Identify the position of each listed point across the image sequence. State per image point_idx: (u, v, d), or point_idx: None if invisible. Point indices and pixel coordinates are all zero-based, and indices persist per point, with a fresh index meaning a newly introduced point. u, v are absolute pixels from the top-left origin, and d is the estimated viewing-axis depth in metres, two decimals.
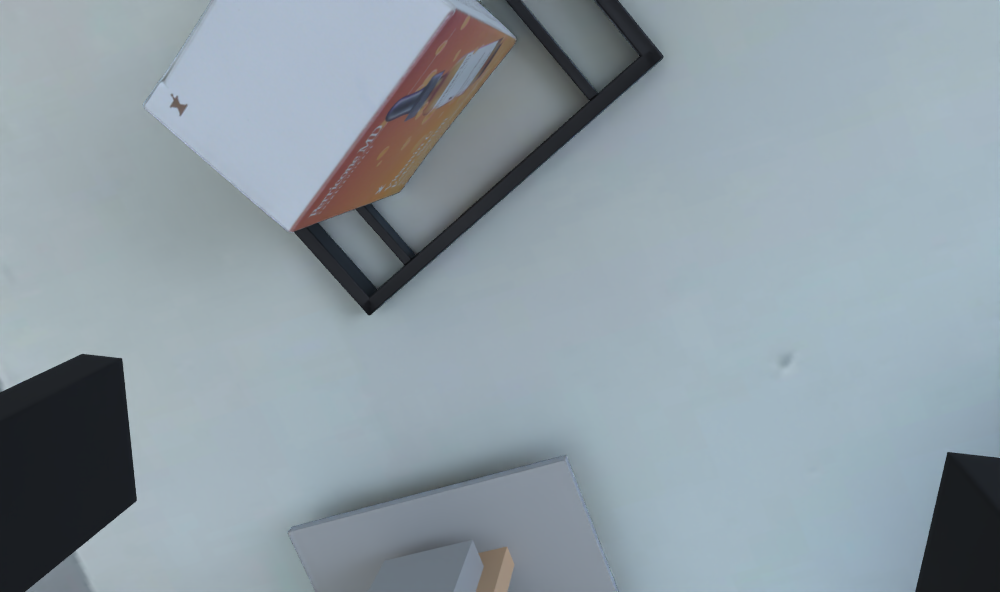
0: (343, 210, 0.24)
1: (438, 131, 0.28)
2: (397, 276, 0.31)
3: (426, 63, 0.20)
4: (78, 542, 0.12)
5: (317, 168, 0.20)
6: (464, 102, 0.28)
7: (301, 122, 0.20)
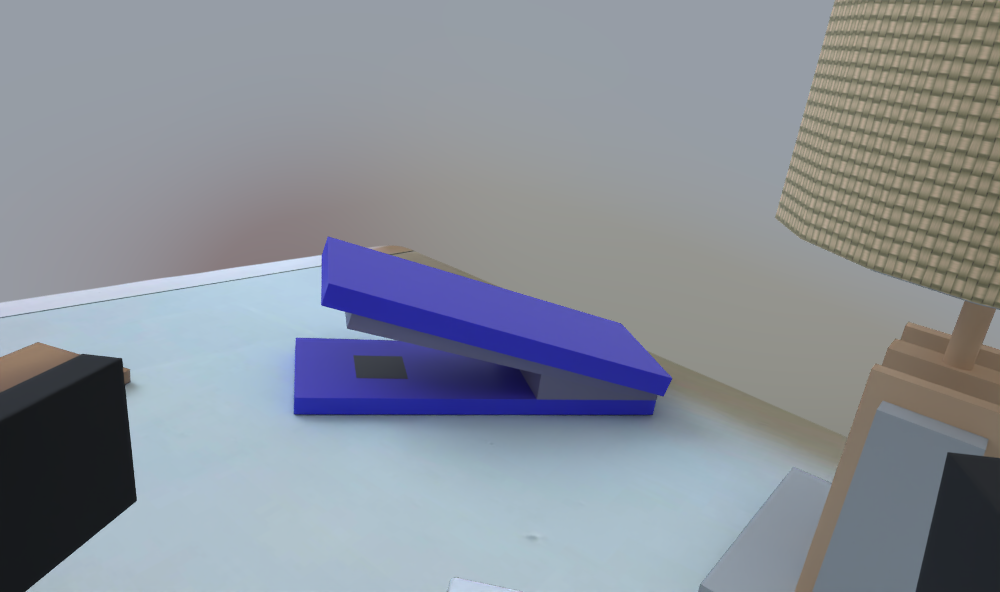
0: None
1: None
2: None
3: None
4: (78, 543, 0.12)
5: None
6: None
7: None
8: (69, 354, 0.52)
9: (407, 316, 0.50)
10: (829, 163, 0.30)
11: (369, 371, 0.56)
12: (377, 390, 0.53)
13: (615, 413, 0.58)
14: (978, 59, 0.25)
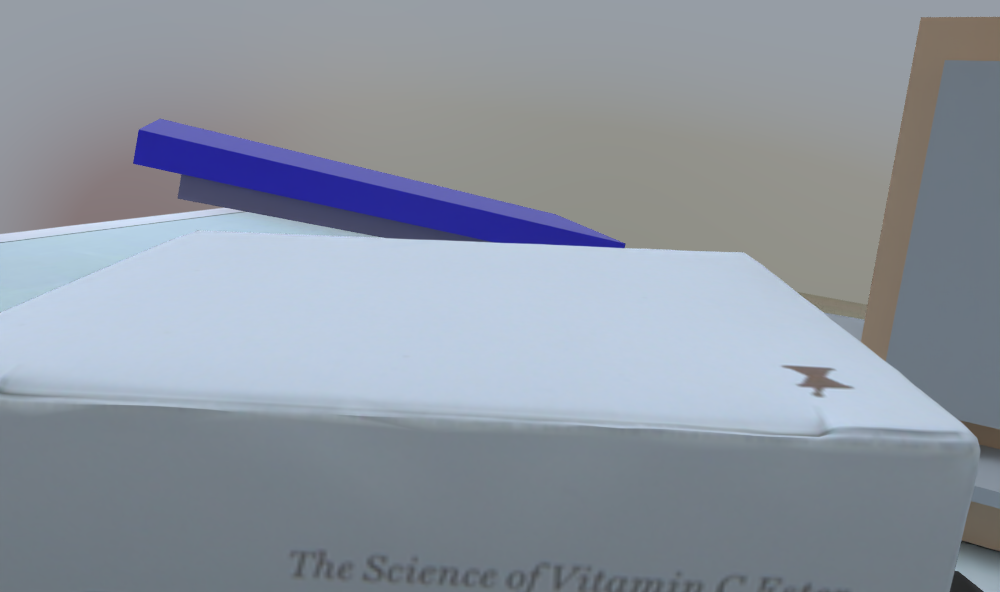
0: None
1: None
2: None
3: None
4: None
5: (598, 249, 0.10)
6: None
7: (549, 262, 0.09)
8: None
9: (261, 174, 0.37)
10: None
11: None
12: None
13: None
14: None
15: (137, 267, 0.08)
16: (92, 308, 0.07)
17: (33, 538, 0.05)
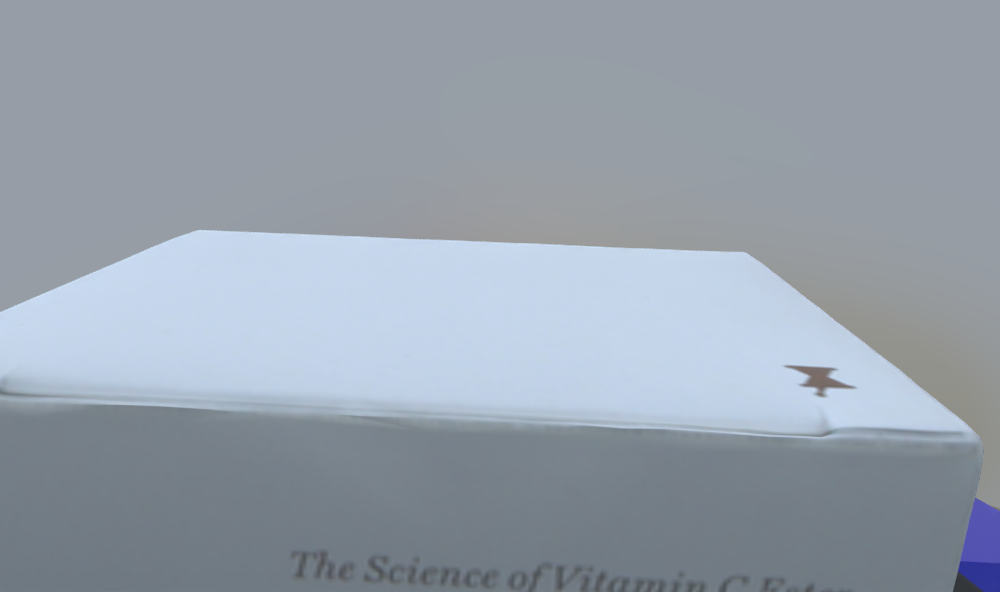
0: None
1: None
2: None
3: None
4: None
5: (599, 249, 0.10)
6: None
7: (549, 262, 0.09)
8: None
9: None
10: None
11: None
12: None
13: None
14: None
15: (137, 267, 0.08)
16: (92, 308, 0.07)
17: (33, 539, 0.05)
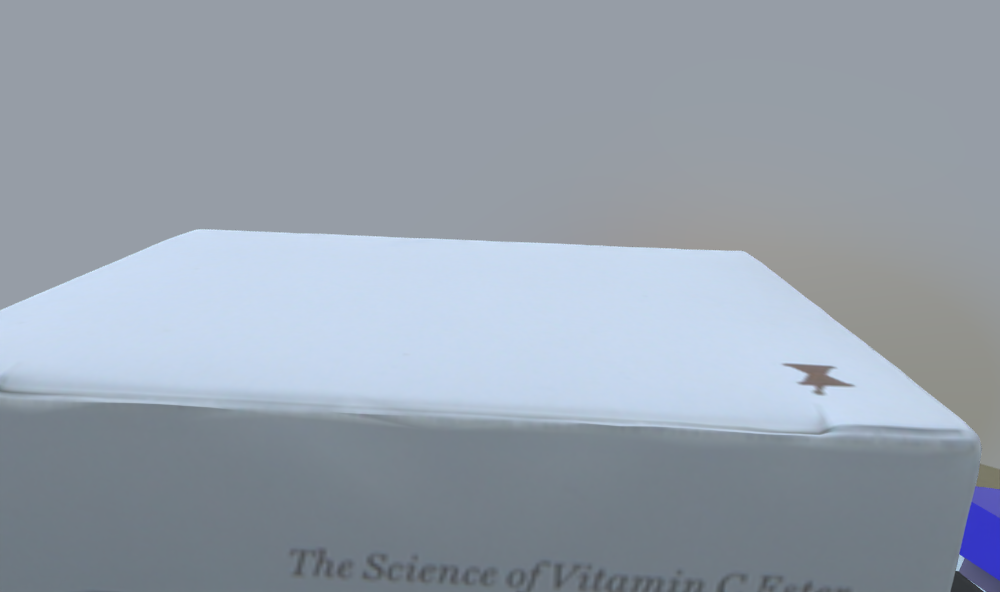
0: None
1: None
2: None
3: None
4: None
5: (599, 248, 0.10)
6: None
7: (548, 261, 0.09)
8: None
9: None
10: None
11: None
12: None
13: None
14: None
15: (136, 266, 0.08)
16: (91, 306, 0.07)
17: (32, 537, 0.05)
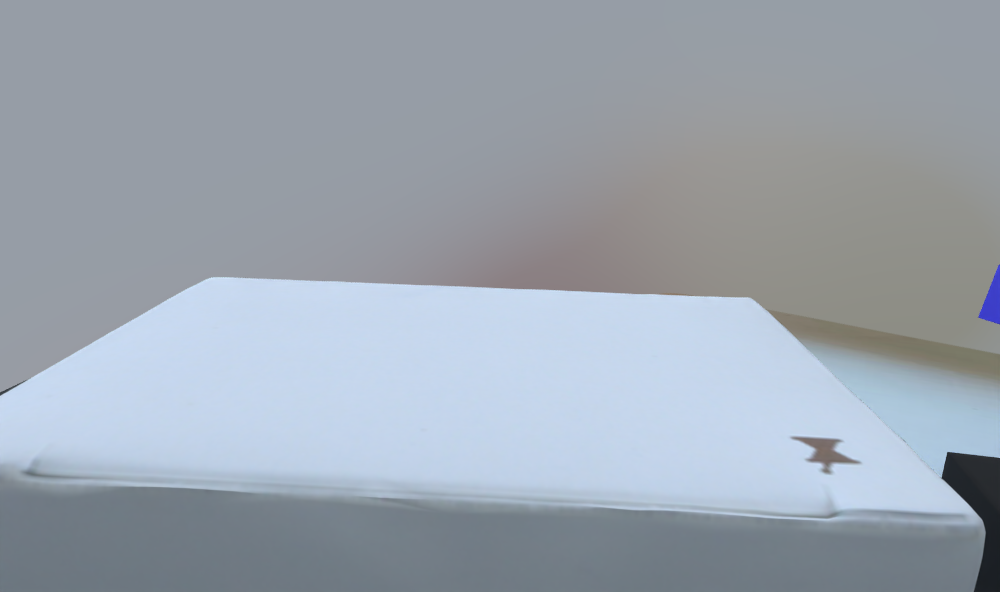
0: None
1: None
2: None
3: None
4: None
5: (607, 296, 0.10)
6: None
7: (559, 314, 0.09)
8: None
9: None
10: None
11: None
12: None
13: None
14: None
15: (156, 324, 0.08)
16: (116, 375, 0.07)
17: None
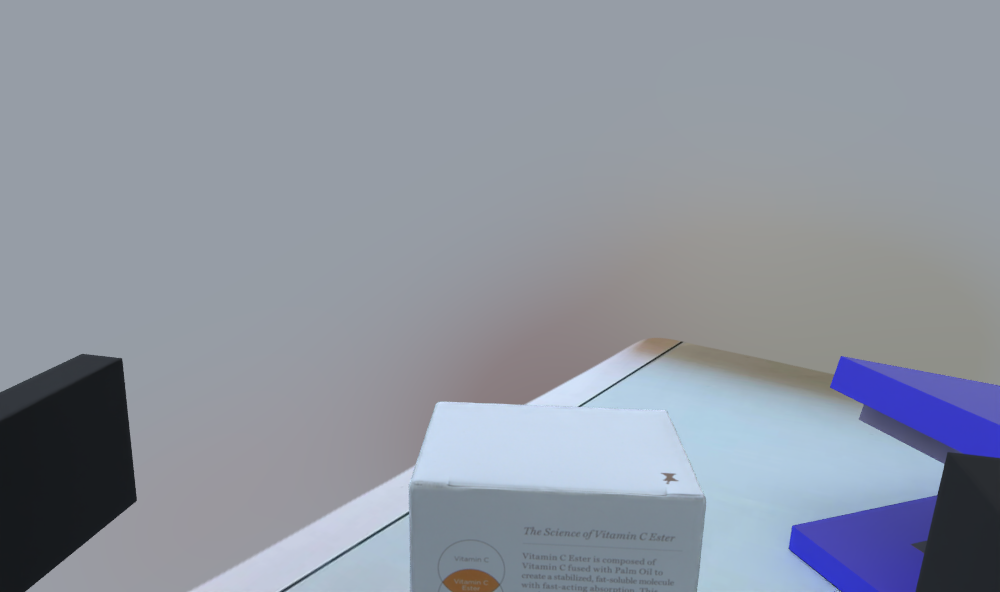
0: None
1: None
2: None
3: None
4: (78, 542, 0.12)
5: (606, 411, 0.24)
6: None
7: (587, 422, 0.23)
8: None
9: None
10: None
11: None
12: None
13: None
14: None
15: (441, 430, 0.22)
16: (447, 453, 0.21)
17: (454, 524, 0.20)
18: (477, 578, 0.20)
